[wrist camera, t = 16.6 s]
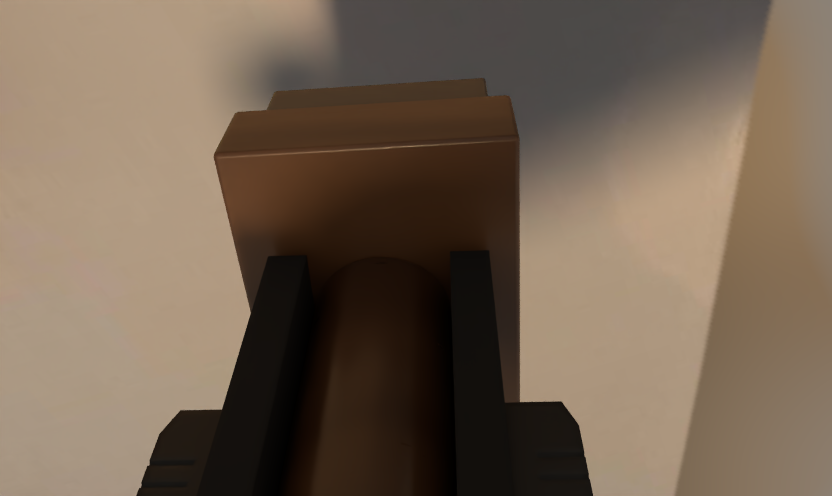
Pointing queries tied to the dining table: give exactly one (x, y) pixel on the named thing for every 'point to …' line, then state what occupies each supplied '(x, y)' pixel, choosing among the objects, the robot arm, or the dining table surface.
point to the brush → (378, 265)
